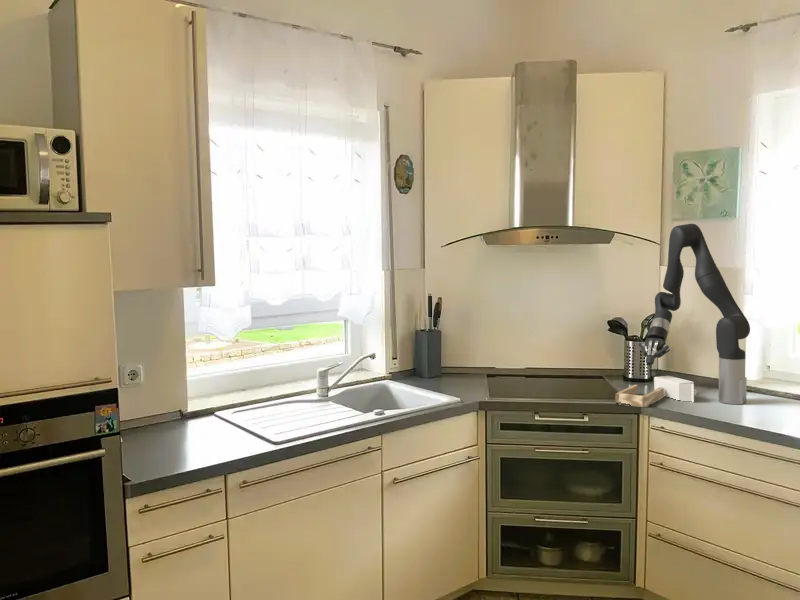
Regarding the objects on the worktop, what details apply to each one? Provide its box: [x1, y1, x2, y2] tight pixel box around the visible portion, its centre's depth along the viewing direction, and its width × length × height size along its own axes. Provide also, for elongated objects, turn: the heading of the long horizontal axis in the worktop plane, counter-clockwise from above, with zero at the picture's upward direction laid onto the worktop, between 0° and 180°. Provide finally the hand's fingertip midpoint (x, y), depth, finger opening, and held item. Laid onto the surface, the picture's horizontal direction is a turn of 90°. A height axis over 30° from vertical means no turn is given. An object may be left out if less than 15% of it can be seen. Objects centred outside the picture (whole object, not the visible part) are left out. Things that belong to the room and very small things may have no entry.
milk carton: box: [653, 375, 698, 403], centre depth 273 cm, size 7×7×19 cm
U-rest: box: [614, 384, 664, 408], centre depth 270 cm, size 12×20×4 cm, turn 141°
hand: (649, 364), depth 278 cm, fingers closed
